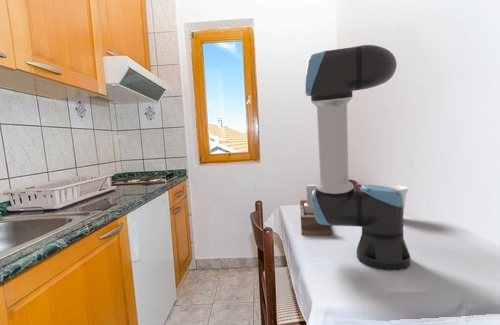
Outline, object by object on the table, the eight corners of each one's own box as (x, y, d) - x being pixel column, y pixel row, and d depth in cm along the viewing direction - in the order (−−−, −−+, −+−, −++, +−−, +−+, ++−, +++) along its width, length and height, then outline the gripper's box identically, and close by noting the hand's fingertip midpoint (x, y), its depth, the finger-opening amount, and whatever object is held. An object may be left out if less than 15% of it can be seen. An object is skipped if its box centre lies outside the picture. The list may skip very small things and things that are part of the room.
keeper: (320, 213, 130) (319, 186, 129) (304, 213, 131) (303, 186, 130) (319, 210, 136) (318, 184, 135) (304, 210, 137) (303, 184, 136)
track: (331, 235, 104) (330, 218, 103) (301, 234, 106) (300, 218, 106) (322, 211, 139) (322, 198, 139) (300, 211, 141) (300, 199, 141)
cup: (414, 223, 112) (413, 188, 111) (385, 224, 113) (385, 190, 112) (398, 215, 125) (398, 184, 124) (372, 216, 125) (372, 185, 124)
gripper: (322, 111, 133) (323, 151, 134) (327, 104, 108) (329, 153, 110) (337, 109, 131) (338, 150, 133) (346, 102, 107) (347, 153, 108)
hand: (334, 152), depth 121 cm, fingers open, 13 cm apart
